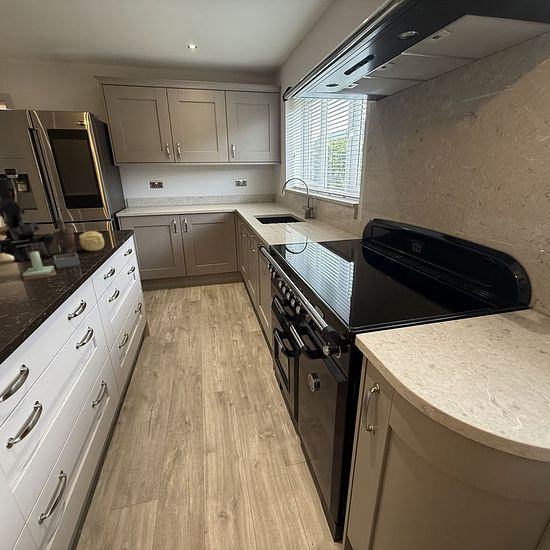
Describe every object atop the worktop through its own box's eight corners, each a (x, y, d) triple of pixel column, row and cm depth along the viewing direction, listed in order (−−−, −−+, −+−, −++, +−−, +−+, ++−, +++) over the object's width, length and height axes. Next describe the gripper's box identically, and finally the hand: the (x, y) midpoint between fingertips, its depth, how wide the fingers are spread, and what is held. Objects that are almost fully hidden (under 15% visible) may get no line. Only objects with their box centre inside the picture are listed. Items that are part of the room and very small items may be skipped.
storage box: (55, 264, 143) (53, 255, 141) (77, 261, 148) (75, 252, 147) (57, 269, 136) (54, 259, 135) (80, 265, 142) (78, 256, 140)
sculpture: (80, 253, 163) (76, 233, 159) (84, 248, 173) (80, 230, 170) (104, 251, 167) (101, 232, 164) (106, 246, 178) (102, 228, 174)
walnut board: (23, 274, 130) (23, 272, 130) (54, 269, 136) (54, 267, 136) (23, 280, 122) (23, 279, 122) (56, 275, 128) (56, 273, 128)
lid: (29, 271, 131) (24, 251, 128) (54, 269, 135) (49, 248, 132) (23, 277, 123) (17, 256, 120) (49, 274, 127) (44, 253, 124)
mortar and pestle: (82, 254, 161) (74, 216, 155) (64, 257, 155) (54, 218, 149) (74, 250, 168) (66, 214, 162) (56, 253, 162) (47, 216, 156)
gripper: (-9, 220, 116) (11, 251, 114) (46, 214, 131) (64, 242, 129) (-11, 238, 122) (8, 268, 120) (42, 230, 137) (60, 257, 135)
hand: (36, 258), depth 126 cm, fingers open, 9 cm apart
